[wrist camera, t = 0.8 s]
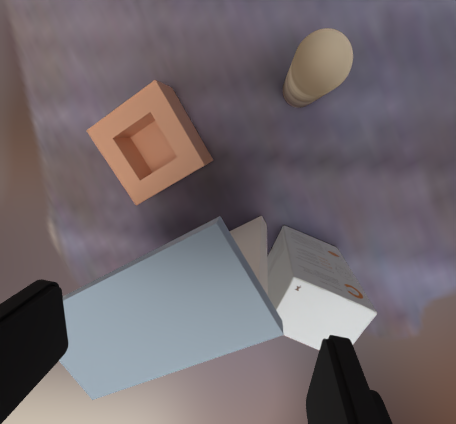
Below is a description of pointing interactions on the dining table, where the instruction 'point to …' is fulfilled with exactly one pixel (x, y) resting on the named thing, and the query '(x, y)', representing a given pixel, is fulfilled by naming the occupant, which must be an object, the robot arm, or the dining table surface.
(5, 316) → the robot arm
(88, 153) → the dining table surface
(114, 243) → the dining table surface
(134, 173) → the socket
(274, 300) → the small box
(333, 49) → the peg
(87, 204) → the dining table surface
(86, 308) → the lidded rectangular box
